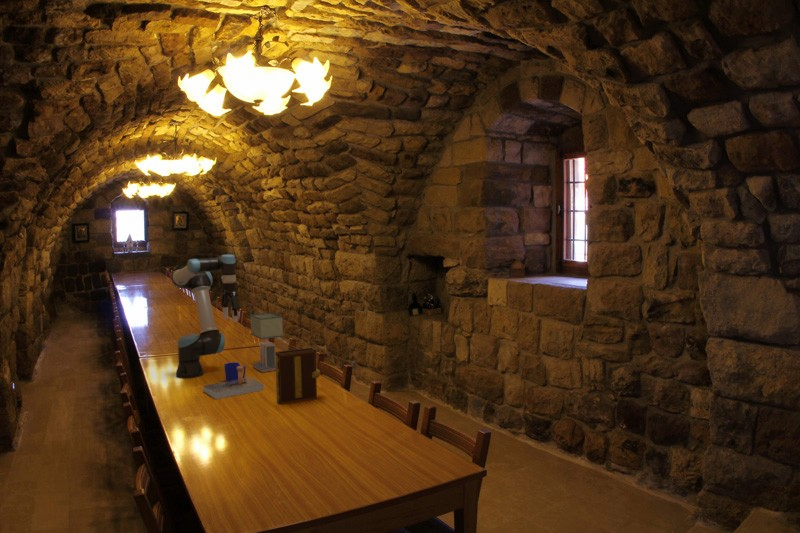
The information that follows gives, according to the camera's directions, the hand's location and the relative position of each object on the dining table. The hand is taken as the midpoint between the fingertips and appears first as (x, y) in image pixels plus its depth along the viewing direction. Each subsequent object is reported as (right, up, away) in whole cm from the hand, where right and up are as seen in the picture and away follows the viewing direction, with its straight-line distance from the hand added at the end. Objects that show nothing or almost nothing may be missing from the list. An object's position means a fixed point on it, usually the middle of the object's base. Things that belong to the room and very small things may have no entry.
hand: (230, 320), depth 331 cm
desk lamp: (+14, -32, +31) cm, 47 cm away
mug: (+3, -35, +2) cm, 35 cm away
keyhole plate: (+7, -36, -17) cm, 40 cm away
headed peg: (+10, -36, -14) cm, 40 cm away
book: (+44, -37, -34) cm, 67 cm away
